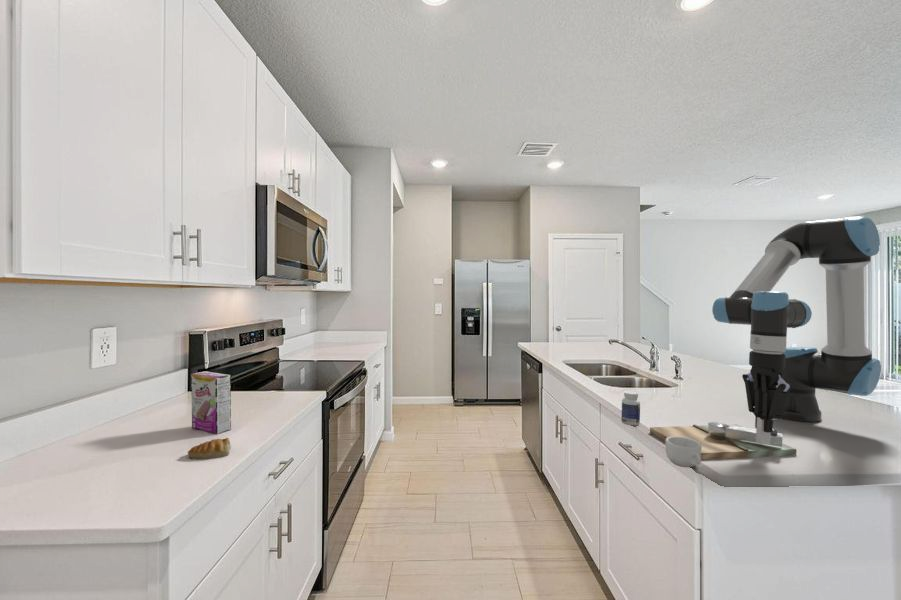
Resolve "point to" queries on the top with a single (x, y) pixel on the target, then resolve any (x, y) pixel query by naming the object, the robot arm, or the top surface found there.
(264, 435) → the top surface
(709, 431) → the latch arm
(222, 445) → the pastry
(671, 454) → the teacup
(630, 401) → the pill bottle
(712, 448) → the door board
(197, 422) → the candy bar box
